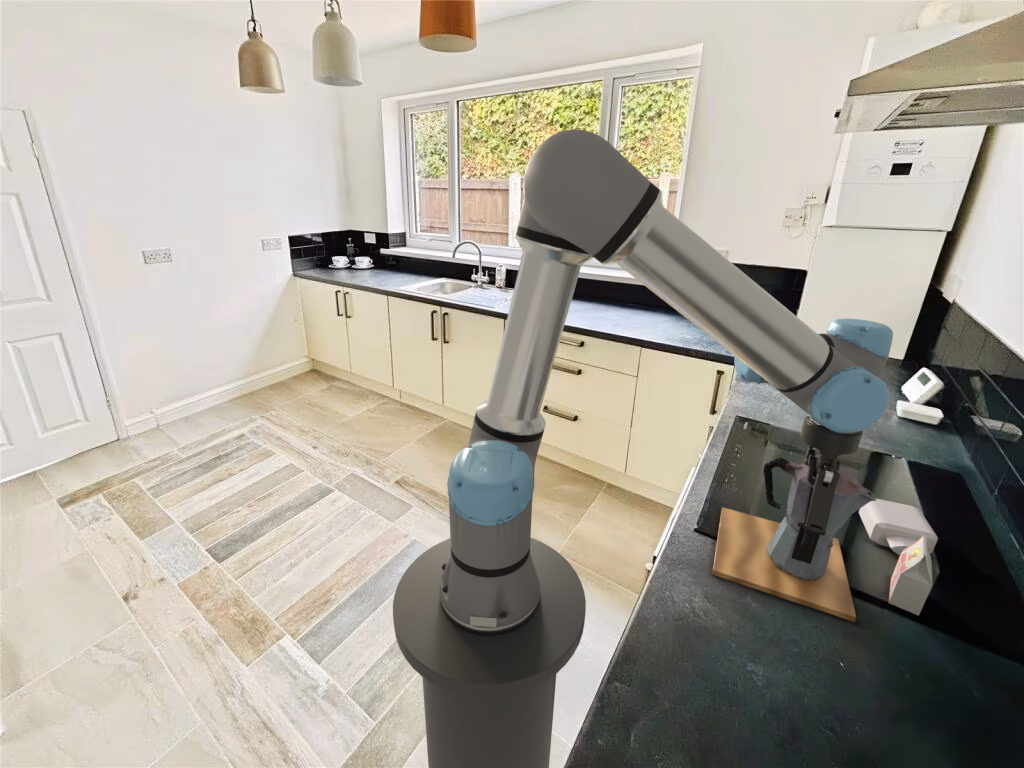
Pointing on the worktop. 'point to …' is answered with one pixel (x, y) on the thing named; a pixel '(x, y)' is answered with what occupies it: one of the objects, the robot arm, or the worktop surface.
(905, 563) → the white printed carton
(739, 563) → the trivet
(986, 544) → the worktop surface
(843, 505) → the moka pot
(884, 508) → the charger
